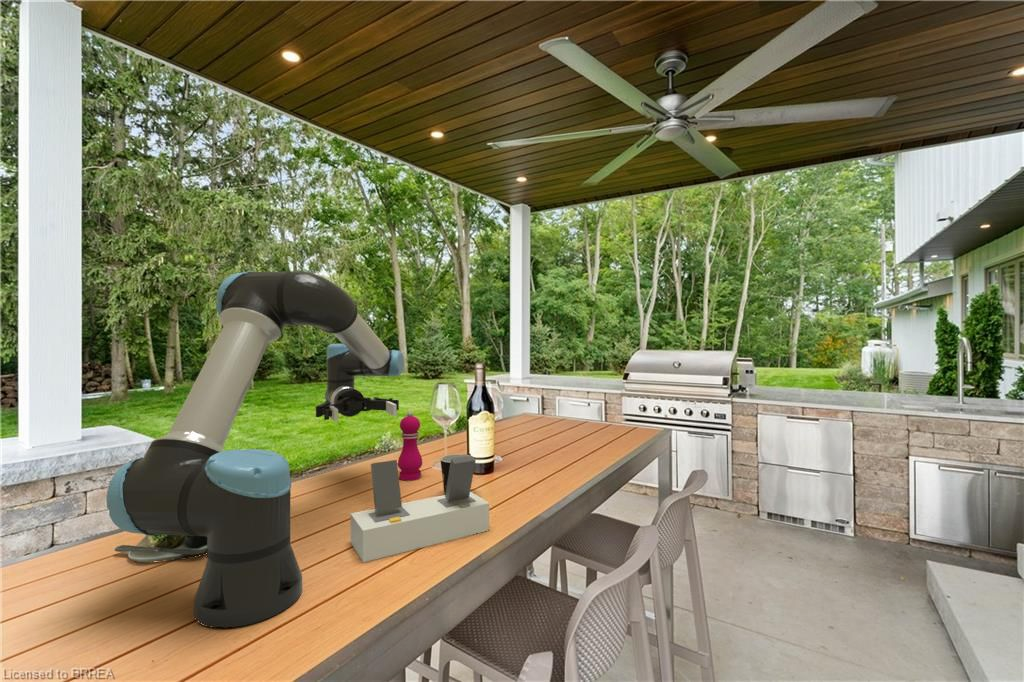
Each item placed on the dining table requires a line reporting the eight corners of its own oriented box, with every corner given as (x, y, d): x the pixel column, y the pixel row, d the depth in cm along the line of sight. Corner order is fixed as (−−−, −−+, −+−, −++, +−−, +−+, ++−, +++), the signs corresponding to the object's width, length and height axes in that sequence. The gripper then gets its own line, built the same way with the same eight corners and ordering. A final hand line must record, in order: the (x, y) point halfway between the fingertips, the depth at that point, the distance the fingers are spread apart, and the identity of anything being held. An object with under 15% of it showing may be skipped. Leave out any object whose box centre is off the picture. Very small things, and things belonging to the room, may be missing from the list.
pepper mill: (403, 473, 144) (402, 408, 144) (425, 474, 143) (425, 409, 143) (394, 480, 137) (393, 412, 136) (417, 481, 136) (417, 413, 135)
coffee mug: (467, 502, 118) (467, 463, 118) (435, 500, 120) (435, 461, 120) (479, 488, 130) (479, 452, 130) (450, 486, 132) (450, 450, 131)
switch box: (363, 562, 87) (362, 528, 87) (350, 542, 96) (350, 511, 96) (489, 530, 101) (489, 500, 101) (468, 515, 110) (468, 488, 110)
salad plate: (93, 578, 83) (92, 552, 83) (137, 537, 99) (136, 515, 99) (218, 560, 89) (218, 536, 89) (240, 524, 106) (239, 504, 106)
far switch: (448, 501, 100) (454, 463, 97) (444, 496, 102) (451, 459, 99) (468, 497, 103) (475, 460, 100) (465, 492, 104) (472, 455, 102)
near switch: (377, 512, 93) (372, 463, 96) (375, 512, 94) (370, 464, 97) (401, 507, 96) (396, 459, 98) (399, 507, 97) (394, 460, 100)
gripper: (392, 410, 135) (417, 423, 117) (298, 419, 122) (309, 434, 104) (392, 384, 135) (417, 393, 117) (298, 390, 122) (309, 401, 104)
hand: (366, 412), depth 110 cm, fingers open, 13 cm apart
